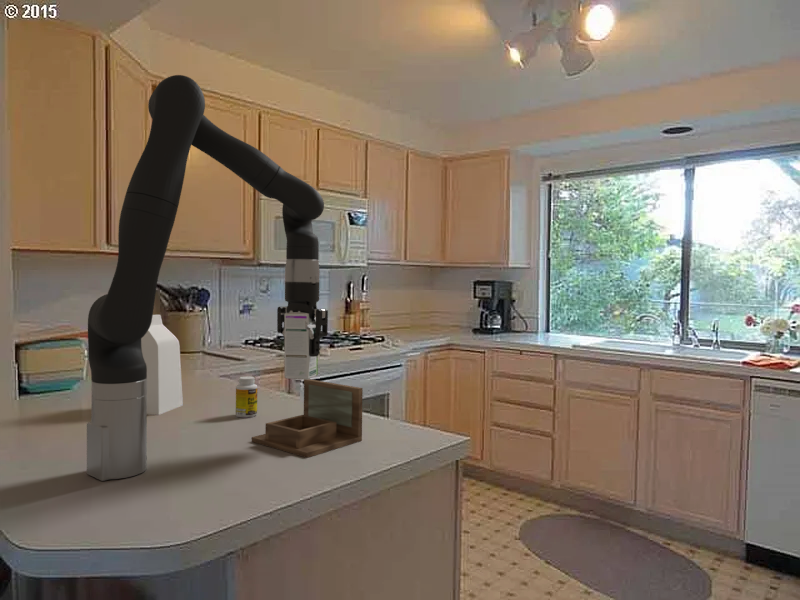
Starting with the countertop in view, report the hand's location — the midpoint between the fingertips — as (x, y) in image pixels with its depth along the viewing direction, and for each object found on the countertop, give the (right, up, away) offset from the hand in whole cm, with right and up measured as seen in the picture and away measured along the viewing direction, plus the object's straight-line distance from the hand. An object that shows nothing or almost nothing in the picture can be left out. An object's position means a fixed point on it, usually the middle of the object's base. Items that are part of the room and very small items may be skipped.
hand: (301, 354), depth 127 cm
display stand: (+1, -20, +2) cm, 20 cm away
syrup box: (0, -5, 0) cm, 5 cm away
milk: (-47, -18, +32) cm, 59 cm away
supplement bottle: (-19, -19, +25) cm, 37 cm away
